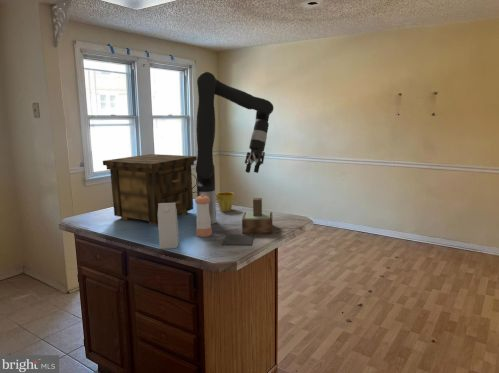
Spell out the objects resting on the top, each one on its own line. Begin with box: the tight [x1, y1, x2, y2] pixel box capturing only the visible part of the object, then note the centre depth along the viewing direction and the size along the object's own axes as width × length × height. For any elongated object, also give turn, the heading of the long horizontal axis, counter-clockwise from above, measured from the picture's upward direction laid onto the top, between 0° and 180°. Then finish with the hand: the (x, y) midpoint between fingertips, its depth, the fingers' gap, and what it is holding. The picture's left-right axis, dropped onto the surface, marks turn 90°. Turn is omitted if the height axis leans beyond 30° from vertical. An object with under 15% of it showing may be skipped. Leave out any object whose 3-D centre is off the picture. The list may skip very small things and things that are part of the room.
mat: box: [221, 234, 255, 246], centre depth 164 cm, size 13×13×1 cm
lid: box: [244, 197, 271, 220], centre depth 177 cm, size 12×12×9 cm
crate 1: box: [102, 153, 197, 226], centre depth 203 cm, size 35×35×33 cm
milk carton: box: [157, 203, 179, 250], centre depth 157 cm, size 7×7×19 cm
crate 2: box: [241, 211, 274, 235], centre depth 179 cm, size 14×14×7 cm
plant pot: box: [215, 191, 235, 212], centre depth 216 cm, size 10×10×10 cm
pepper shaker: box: [194, 194, 213, 238], centre depth 171 cm, size 7×7×19 cm
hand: (251, 172), depth 182 cm, fingers open, 8 cm apart
